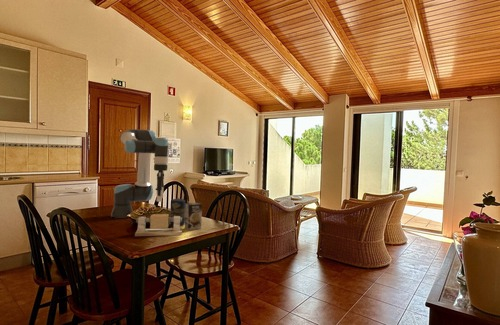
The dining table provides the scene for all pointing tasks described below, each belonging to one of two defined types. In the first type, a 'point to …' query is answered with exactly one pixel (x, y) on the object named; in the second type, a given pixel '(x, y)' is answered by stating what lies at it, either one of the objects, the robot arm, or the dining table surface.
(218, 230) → the dining table surface
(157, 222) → the block
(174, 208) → the canister
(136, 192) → the robot arm
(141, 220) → the shaft rig
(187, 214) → the coffee box
